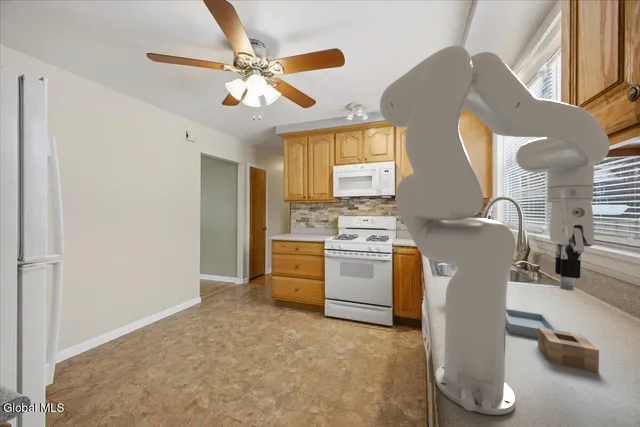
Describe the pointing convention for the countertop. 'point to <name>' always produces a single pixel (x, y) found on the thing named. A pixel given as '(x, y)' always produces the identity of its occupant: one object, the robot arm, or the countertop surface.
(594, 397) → the countertop surface
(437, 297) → the countertop surface
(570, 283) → the pin
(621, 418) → the countertop surface
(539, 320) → the tray
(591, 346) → the bore block
